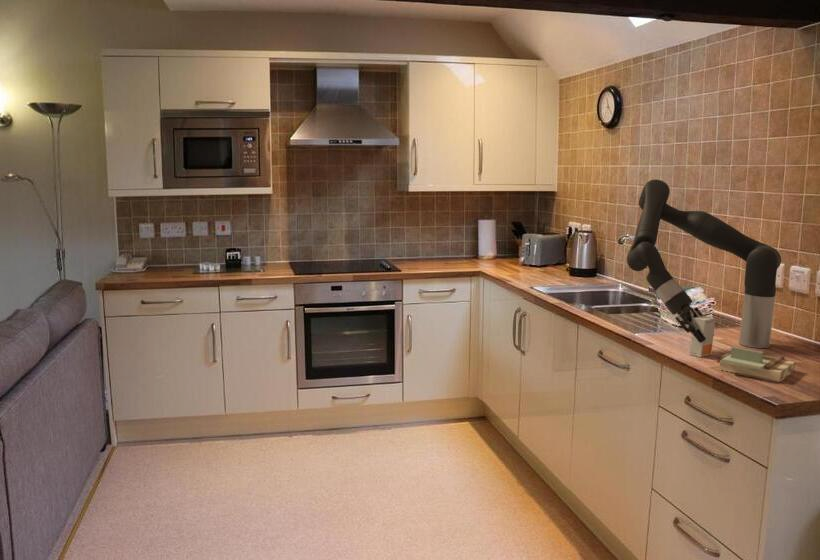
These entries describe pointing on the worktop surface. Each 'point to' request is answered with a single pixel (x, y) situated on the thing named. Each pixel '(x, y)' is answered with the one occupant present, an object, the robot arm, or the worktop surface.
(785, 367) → the board
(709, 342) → the skincare box
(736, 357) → the cover
